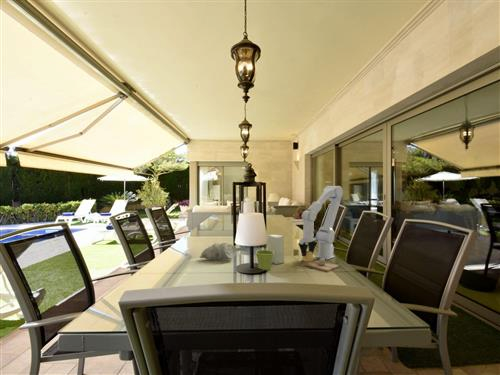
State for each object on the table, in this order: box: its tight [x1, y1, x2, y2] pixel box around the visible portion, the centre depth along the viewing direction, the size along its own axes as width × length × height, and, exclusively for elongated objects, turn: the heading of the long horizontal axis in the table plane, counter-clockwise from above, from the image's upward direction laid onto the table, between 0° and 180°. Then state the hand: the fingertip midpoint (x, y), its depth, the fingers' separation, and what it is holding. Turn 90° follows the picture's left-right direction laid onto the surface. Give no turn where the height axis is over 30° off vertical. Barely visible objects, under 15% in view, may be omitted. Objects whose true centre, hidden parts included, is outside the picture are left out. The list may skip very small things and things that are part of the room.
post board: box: [303, 258, 341, 273], centre depth 151 cm, size 13×14×4 cm
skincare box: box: [266, 234, 285, 265], centre depth 157 cm, size 8×6×15 cm
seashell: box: [199, 242, 237, 262], centre depth 157 cm, size 16×15×10 cm
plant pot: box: [254, 249, 274, 271], centre depth 143 cm, size 9×9×9 cm
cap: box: [302, 250, 314, 263], centre depth 162 cm, size 6×6×5 cm
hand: (307, 255), depth 162 cm, fingers open, 7 cm apart
